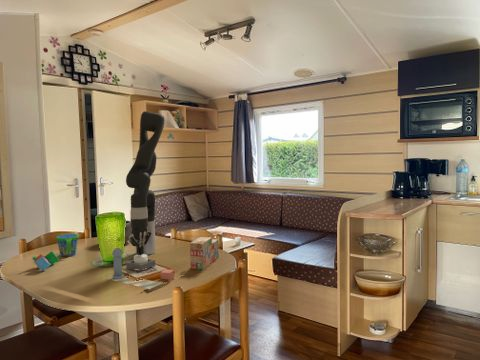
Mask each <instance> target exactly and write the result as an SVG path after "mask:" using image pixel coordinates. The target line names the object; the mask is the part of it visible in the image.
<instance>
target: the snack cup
mask: <svg viewBox="0 0 480 360" xmlns="http://www.w3.org/2000/svg"><path fill="white" fill-rule="evenodd" d="M79 237H80V235H79V234H77V233H64V234H60V235H57V236H56V238H55V240H56V241H57V245H58V251H59V254H60V255H59V256H61V257H64V258H65V257H72V256H75V255H76V254H77V250H78V249H77V248H78V241H79Z"/></svg>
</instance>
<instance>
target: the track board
mask: <svg viewBox="0 0 480 360" xmlns="http://www.w3.org/2000/svg"><path fill="white" fill-rule="evenodd" d="M142 279H143V280H139V281H136V280H135V281H133V280H130V279H128V278H127V277H123V278H121V279H113V277H112V276H111V277H108V278H107V280H108V281H113V282H117V283H121V284H126V285H130V286H135V287H139V288H143V289H144V290H143V292H146V293H151V292H153V291H155V290H157V289H160V288H162V287H164V282H163V283H162V282H157V281H154V280H149V279H145V278H142Z"/></svg>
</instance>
